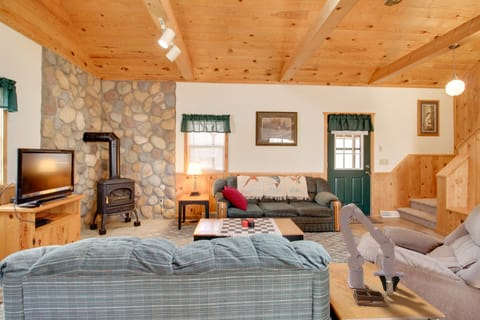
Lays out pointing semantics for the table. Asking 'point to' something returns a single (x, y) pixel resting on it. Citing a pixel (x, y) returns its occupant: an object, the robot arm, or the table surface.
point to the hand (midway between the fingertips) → (389, 290)
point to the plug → (389, 288)
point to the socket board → (369, 298)
